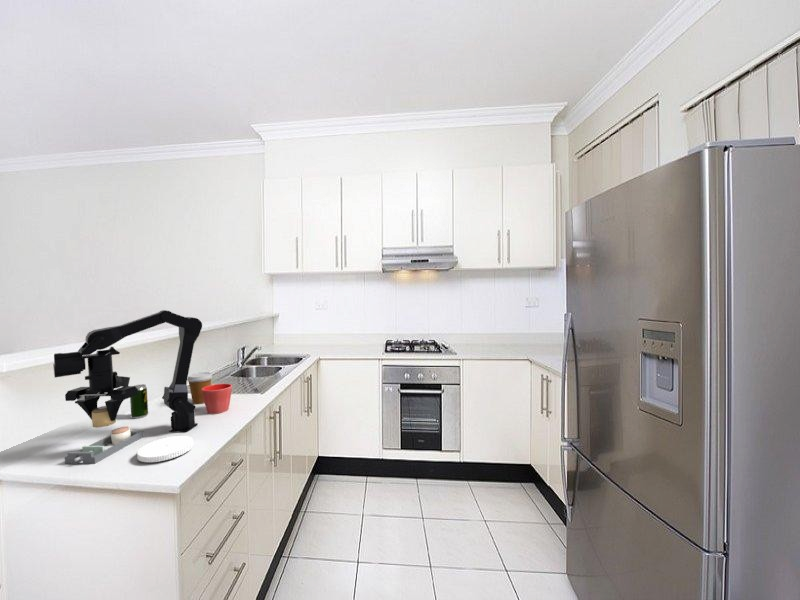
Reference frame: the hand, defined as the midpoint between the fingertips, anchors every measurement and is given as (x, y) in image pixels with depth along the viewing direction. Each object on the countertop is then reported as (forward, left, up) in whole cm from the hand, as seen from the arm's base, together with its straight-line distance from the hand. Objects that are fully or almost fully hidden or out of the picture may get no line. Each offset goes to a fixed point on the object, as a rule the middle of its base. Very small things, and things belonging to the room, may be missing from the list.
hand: (104, 420), depth 109 cm
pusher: (0, +7, -9) cm, 11 cm away
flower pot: (-16, -34, -9) cm, 39 cm away
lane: (0, -1, -9) cm, 9 cm away
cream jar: (0, -6, -9) cm, 11 cm away
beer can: (+12, -28, -9) cm, 32 cm away
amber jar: (0, 0, -1) cm, 1 cm away
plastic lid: (-21, +2, -10) cm, 23 cm away
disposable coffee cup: (-2, -45, -9) cm, 46 cm away
